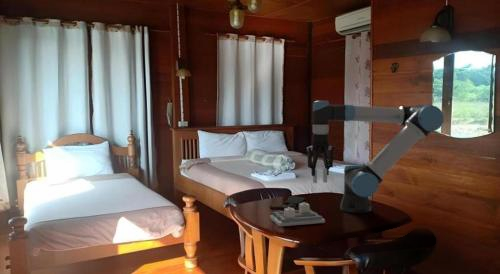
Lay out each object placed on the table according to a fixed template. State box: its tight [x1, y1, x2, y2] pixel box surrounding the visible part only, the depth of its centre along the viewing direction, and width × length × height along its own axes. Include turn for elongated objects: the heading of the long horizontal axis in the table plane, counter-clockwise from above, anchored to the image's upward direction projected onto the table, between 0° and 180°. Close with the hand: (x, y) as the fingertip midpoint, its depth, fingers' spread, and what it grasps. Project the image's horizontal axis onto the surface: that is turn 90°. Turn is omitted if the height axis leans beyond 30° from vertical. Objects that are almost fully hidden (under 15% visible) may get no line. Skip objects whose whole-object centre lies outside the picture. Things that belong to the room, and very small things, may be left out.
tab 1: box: [283, 207, 296, 219], centre depth 183 cm, size 4×3×6 cm
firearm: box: [269, 196, 307, 210], centre depth 219 cm, size 28×2×15 cm
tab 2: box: [298, 201, 311, 213], centre depth 192 cm, size 4×3×6 cm
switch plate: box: [269, 208, 326, 227], centre depth 188 cm, size 22×13×3 cm, turn 105°
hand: (320, 182), depth 194 cm, fingers open, 4 cm apart
